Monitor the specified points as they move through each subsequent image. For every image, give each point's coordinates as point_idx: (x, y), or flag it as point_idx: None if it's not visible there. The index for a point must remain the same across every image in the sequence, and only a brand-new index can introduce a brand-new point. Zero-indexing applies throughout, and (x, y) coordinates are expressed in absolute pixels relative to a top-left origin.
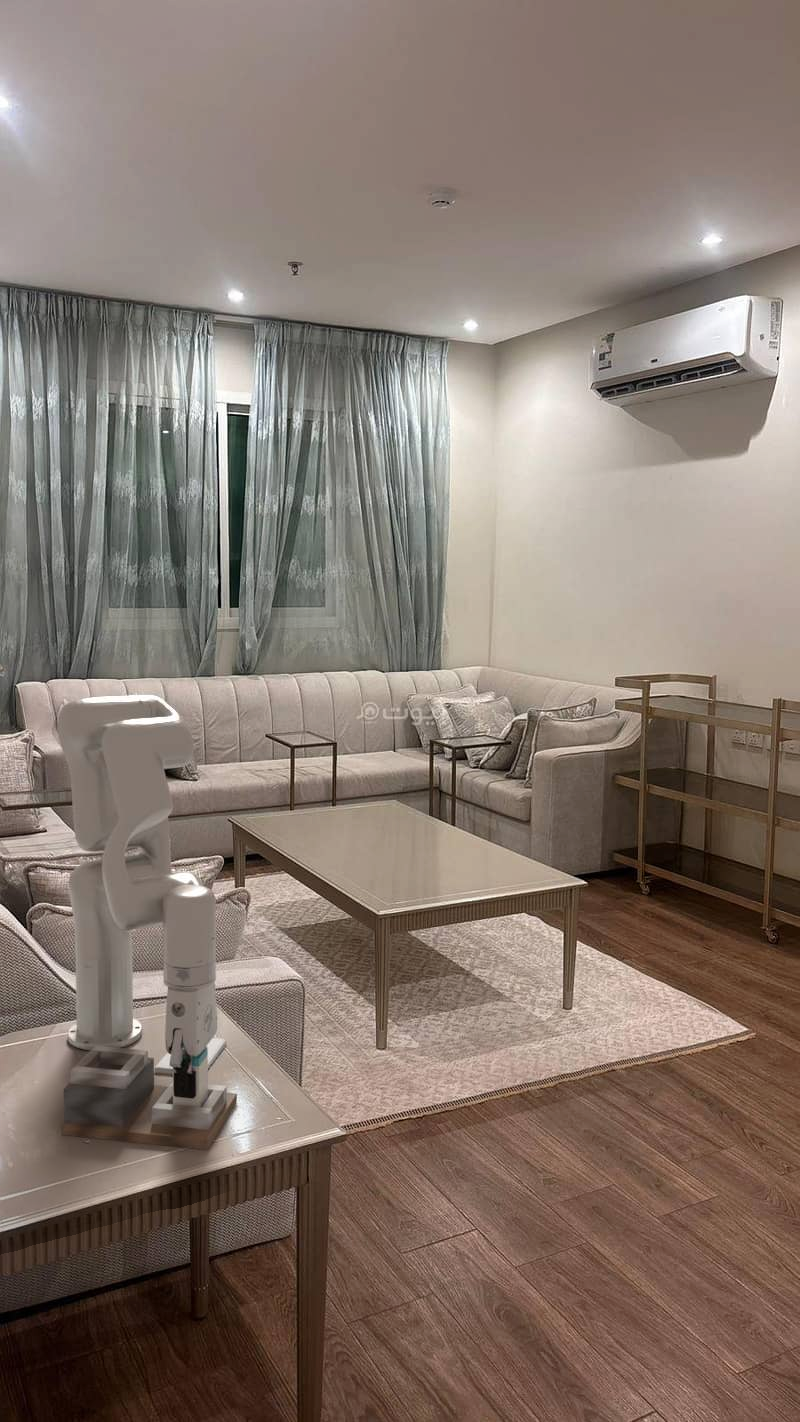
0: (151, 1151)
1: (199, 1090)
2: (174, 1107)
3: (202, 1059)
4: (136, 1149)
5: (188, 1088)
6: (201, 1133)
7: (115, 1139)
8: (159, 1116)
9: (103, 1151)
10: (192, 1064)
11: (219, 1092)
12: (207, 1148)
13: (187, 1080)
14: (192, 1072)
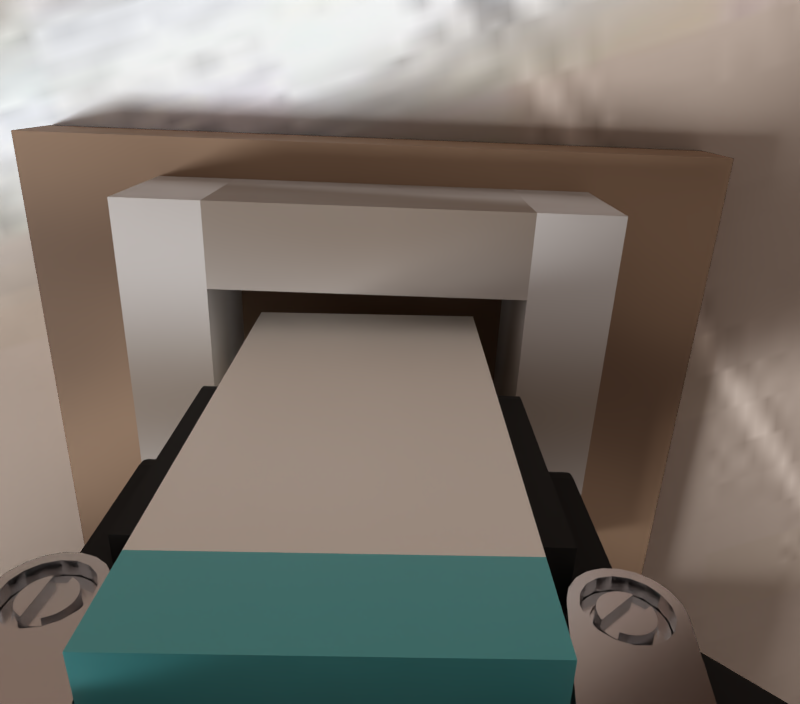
0: (706, 455)
1: (488, 385)
2: None
3: (381, 581)
4: (685, 527)
5: (556, 490)
6: (641, 226)
7: None
8: None
9: (701, 647)
10: (635, 670)
11: (242, 227)
12: (702, 151)
13: (606, 556)
14: (603, 576)
